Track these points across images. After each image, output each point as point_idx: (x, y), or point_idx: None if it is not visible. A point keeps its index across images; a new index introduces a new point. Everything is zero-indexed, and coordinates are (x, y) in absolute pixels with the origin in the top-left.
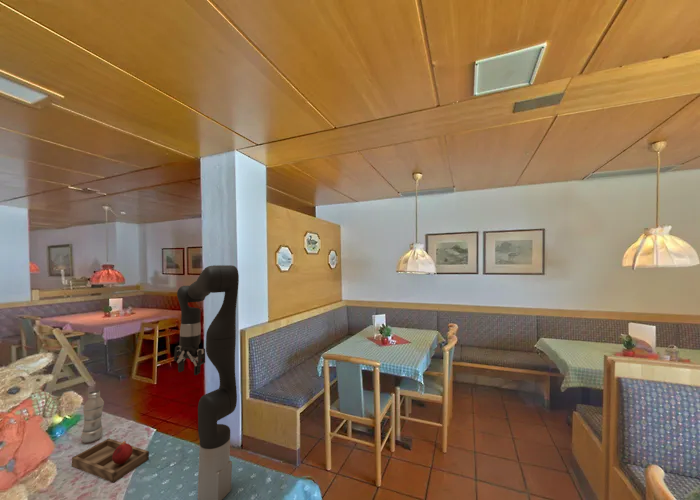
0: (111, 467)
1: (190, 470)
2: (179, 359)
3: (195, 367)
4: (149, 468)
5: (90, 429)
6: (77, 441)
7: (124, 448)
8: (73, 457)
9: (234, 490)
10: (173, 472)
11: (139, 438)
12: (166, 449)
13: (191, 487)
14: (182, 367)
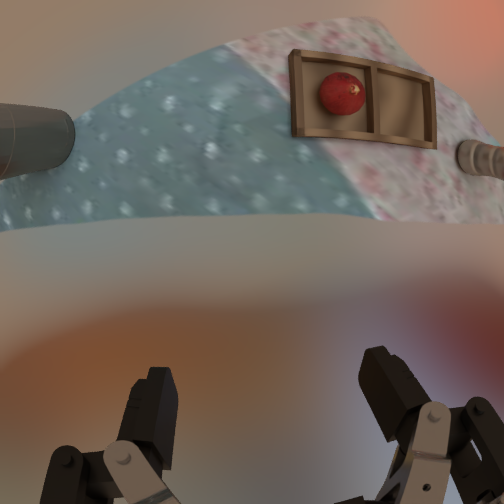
0: None
1: (145, 154)
2: (432, 443)
3: (135, 429)
4: (254, 114)
5: (480, 147)
6: None
7: (337, 84)
8: (432, 79)
9: None
10: (179, 129)
11: (391, 191)
12: (284, 183)
13: (99, 122)
14: (373, 393)
